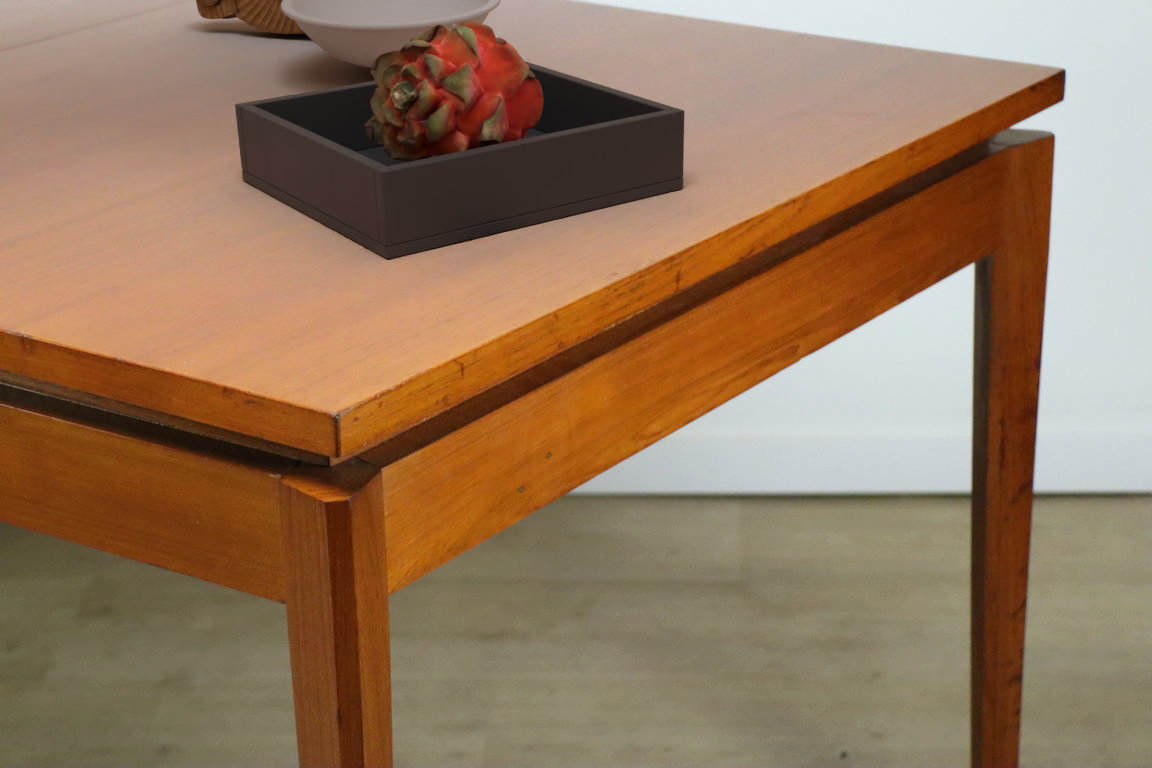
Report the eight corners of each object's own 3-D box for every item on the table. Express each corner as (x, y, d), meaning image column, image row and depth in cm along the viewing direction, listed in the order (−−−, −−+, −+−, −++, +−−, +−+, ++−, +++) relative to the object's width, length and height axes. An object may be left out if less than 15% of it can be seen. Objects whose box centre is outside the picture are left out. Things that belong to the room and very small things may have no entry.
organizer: (242, 180, 80) (234, 103, 78) (515, 126, 89) (514, 57, 87) (387, 259, 69) (381, 171, 67) (683, 188, 78) (685, 110, 76)
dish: (302, 47, 110) (296, -23, 107) (501, 43, 110) (499, -27, 108) (272, 109, 94) (264, 27, 91) (505, 103, 94) (502, 22, 92)
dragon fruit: (411, 244, 73) (472, 204, 85) (551, 145, 71) (595, 117, 82) (307, 96, 72) (384, 76, 84) (446, -10, 70) (505, -16, 81)
